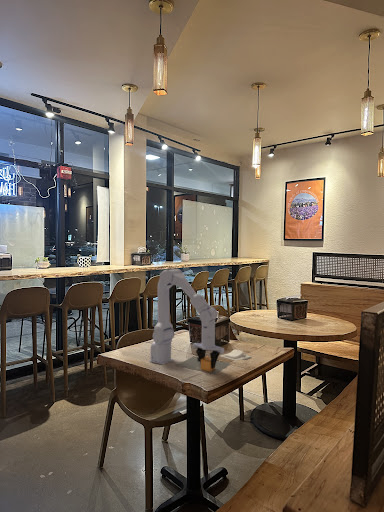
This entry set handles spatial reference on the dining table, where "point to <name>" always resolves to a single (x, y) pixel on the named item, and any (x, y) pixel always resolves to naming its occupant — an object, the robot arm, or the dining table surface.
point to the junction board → (196, 365)
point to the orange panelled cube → (206, 364)
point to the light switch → (236, 355)
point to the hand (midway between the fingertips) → (207, 366)
